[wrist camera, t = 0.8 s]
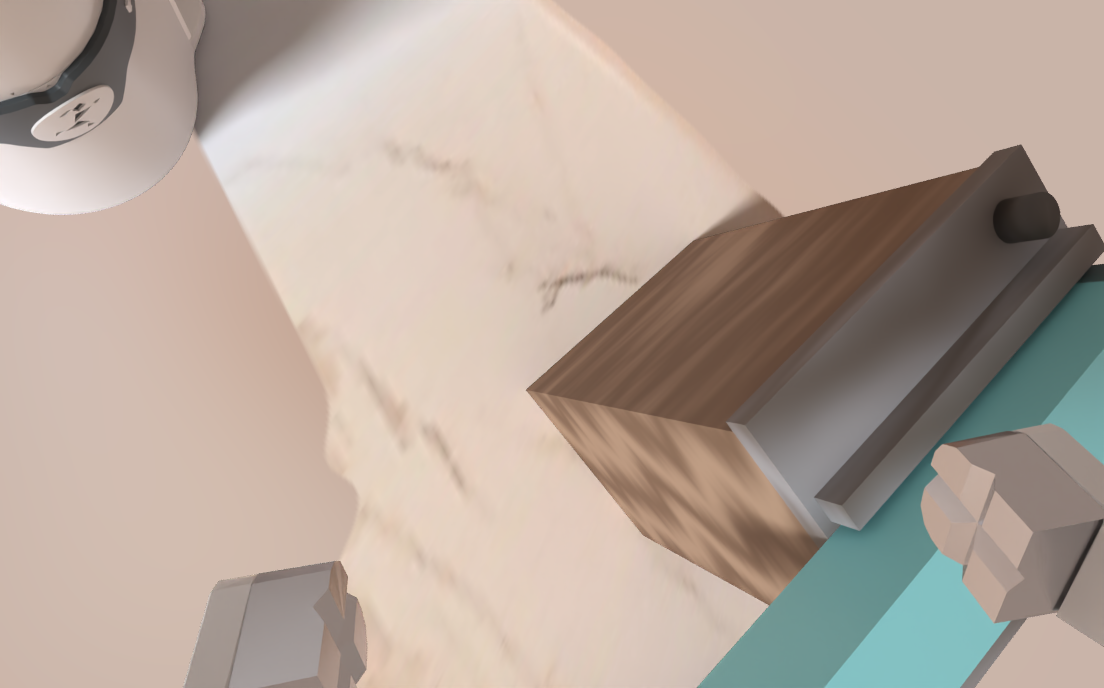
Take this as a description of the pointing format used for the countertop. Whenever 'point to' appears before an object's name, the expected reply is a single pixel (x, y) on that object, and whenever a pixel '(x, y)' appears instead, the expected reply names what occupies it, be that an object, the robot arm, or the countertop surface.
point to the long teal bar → (923, 541)
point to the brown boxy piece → (812, 365)
